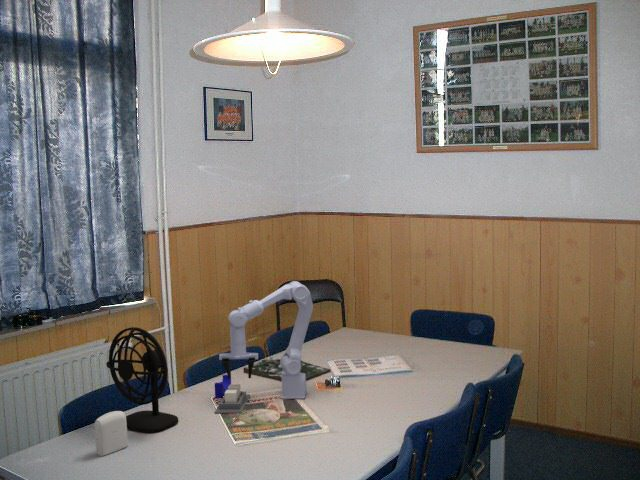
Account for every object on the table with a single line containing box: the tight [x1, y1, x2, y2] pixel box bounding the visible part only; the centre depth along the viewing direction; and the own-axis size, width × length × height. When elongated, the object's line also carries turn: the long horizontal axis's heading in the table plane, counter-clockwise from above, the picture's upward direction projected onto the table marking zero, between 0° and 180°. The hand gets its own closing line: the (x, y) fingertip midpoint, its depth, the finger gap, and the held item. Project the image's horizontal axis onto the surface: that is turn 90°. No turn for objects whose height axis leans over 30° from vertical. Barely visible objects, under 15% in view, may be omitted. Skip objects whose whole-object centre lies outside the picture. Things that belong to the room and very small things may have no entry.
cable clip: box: [214, 374, 232, 399], centre depth 284 cm, size 12×4×6 cm, turn 171°
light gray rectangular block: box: [225, 390, 238, 403], centre depth 267 cm, size 4×4×6 cm
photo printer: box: [94, 410, 129, 457], centre depth 229 cm, size 10×4×12 cm, turn 140°
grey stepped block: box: [214, 383, 251, 415], centre depth 270 cm, size 10×20×6 cm, turn 177°
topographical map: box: [243, 357, 332, 382], centre depth 313 cm, size 26×33×3 cm
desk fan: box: [105, 326, 179, 433], centre depth 250 cm, size 27×18×35 cm, turn 59°
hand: (239, 377), depth 273 cm, fingers open, 7 cm apart
